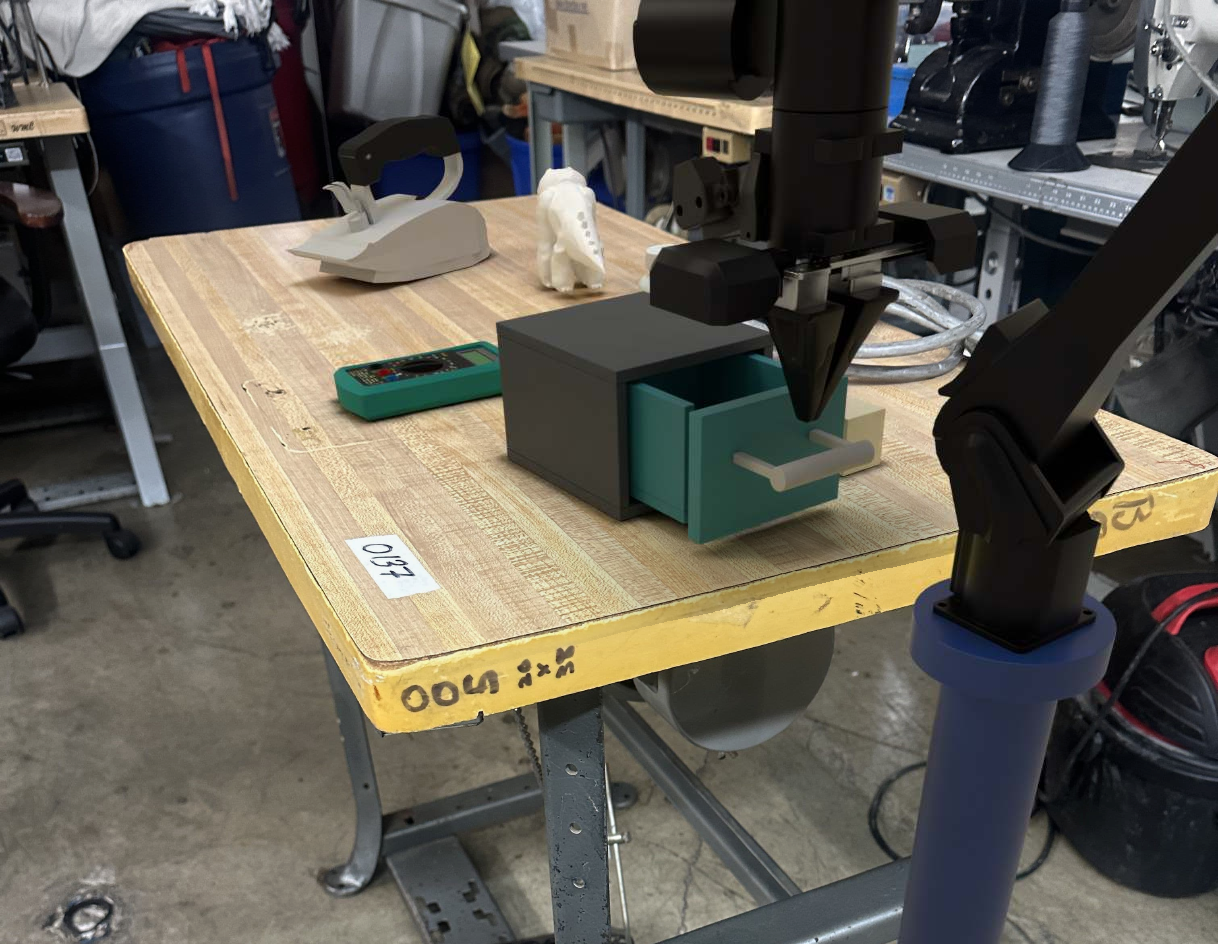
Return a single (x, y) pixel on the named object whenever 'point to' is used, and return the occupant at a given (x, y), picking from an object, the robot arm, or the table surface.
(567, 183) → the toy dinosaur
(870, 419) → the block
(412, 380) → the digital multimeter
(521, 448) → the drawer cabinet
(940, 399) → the table surface
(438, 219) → the iron
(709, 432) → the teal drawer
